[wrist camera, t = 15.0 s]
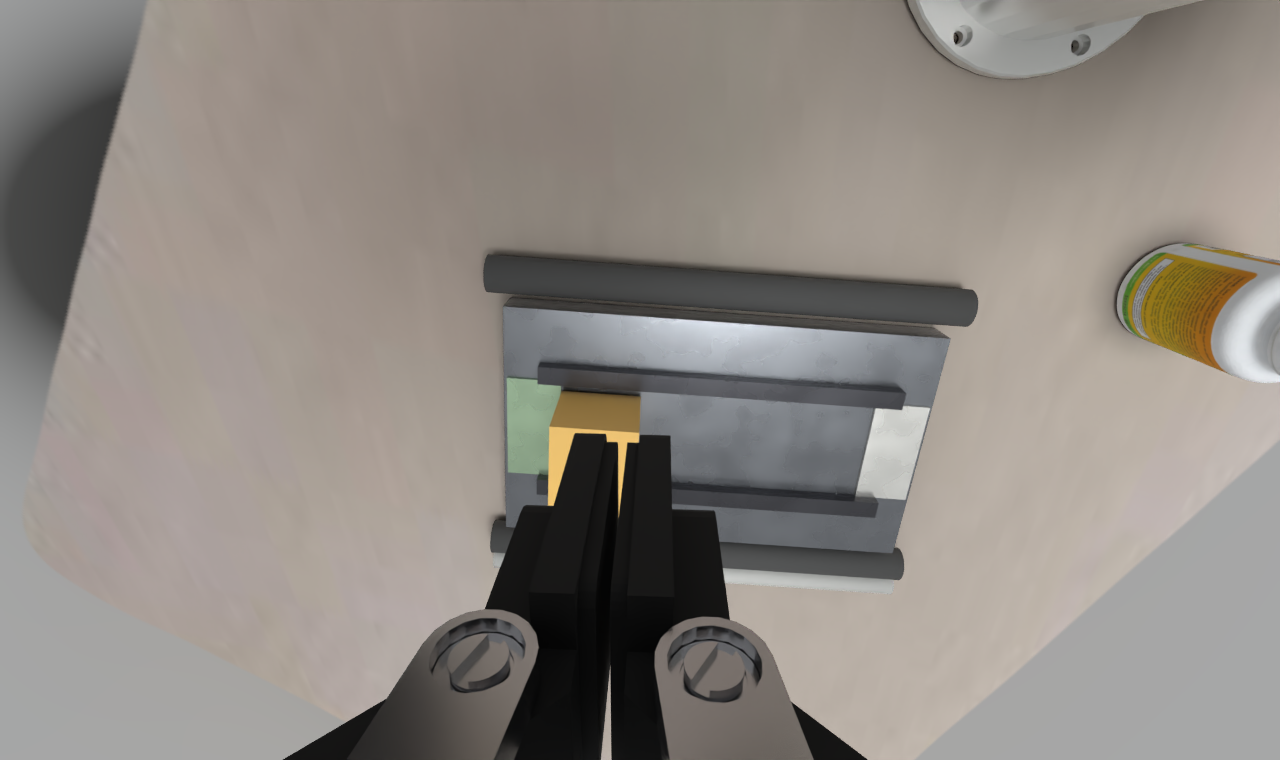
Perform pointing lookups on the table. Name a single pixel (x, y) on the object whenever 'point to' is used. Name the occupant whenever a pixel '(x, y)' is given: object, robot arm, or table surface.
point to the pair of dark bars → (760, 296)
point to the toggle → (591, 429)
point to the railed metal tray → (737, 412)
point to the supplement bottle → (1208, 307)
